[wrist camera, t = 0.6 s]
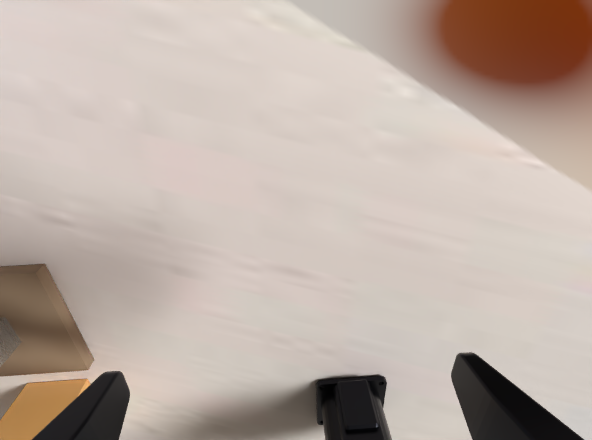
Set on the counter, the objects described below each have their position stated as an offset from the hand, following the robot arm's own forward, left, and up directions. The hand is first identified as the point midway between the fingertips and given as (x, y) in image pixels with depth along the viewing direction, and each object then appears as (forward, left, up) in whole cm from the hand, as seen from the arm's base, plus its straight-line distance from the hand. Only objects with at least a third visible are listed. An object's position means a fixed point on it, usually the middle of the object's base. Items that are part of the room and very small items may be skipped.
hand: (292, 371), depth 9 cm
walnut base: (-10, +22, -14) cm, 28 cm away
